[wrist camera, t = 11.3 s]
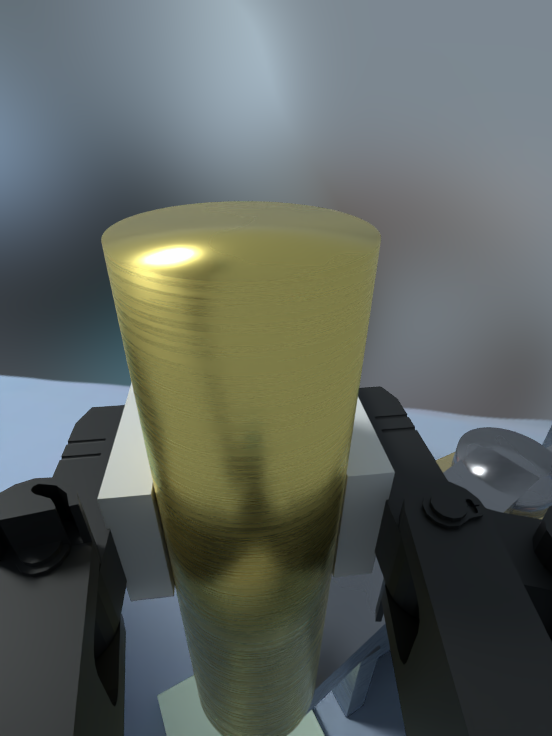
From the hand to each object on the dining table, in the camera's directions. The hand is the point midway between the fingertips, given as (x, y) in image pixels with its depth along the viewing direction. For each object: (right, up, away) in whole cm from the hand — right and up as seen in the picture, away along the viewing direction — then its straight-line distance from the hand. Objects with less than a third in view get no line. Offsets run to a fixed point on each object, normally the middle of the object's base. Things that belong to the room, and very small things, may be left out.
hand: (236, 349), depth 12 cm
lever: (+6, -7, +2) cm, 10 cm away
